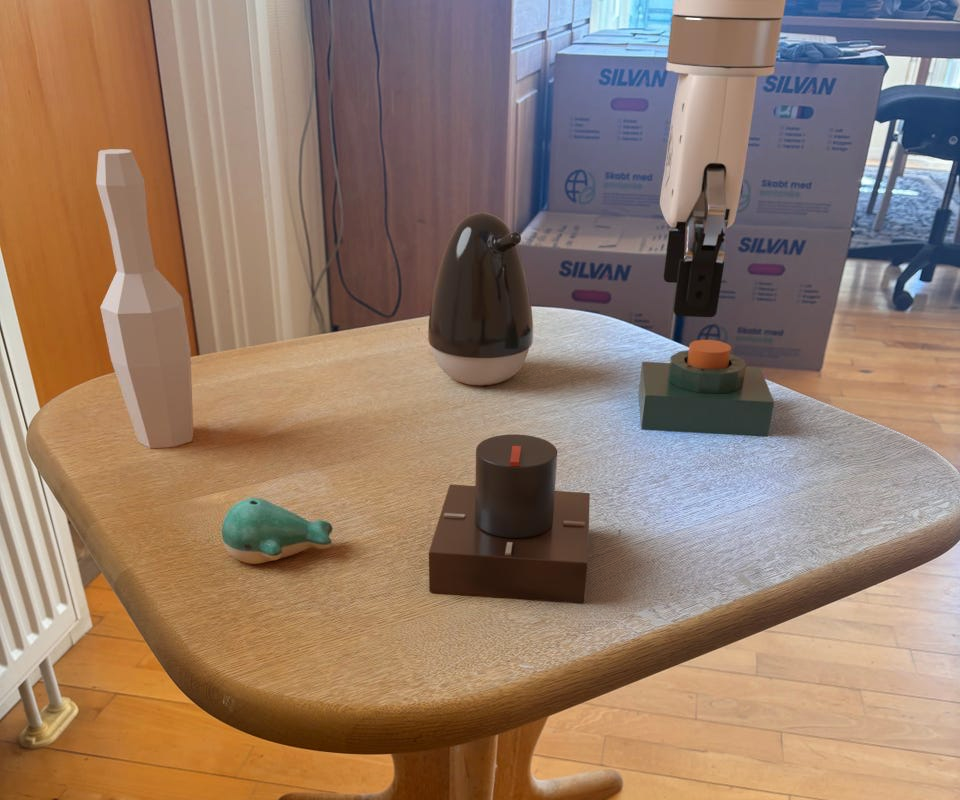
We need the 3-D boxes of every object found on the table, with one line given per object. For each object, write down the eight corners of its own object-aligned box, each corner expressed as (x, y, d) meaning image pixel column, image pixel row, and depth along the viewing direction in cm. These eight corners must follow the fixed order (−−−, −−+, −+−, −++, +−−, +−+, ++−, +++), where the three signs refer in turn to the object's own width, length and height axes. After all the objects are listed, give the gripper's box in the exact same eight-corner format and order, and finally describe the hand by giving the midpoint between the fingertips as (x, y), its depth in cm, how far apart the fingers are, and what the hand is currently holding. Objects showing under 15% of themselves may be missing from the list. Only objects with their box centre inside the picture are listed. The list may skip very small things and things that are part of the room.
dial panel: (586, 530, 70) (590, 490, 68) (584, 603, 62) (588, 560, 60) (449, 521, 71) (449, 481, 69) (429, 592, 63) (428, 549, 61)
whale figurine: (232, 531, 69) (225, 483, 67) (336, 530, 69) (332, 482, 67) (218, 573, 64) (210, 522, 62) (330, 572, 65) (325, 521, 62)
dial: (478, 500, 67) (479, 427, 64) (553, 504, 67) (558, 431, 64) (471, 536, 63) (472, 460, 60) (551, 540, 62) (556, 464, 59)
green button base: (754, 400, 92) (764, 348, 89) (767, 437, 85) (778, 381, 82) (638, 394, 93) (644, 342, 90) (641, 430, 86) (647, 374, 83)
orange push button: (725, 359, 88) (728, 340, 87) (730, 373, 85) (733, 353, 84) (685, 357, 88) (688, 338, 87) (688, 371, 85) (691, 351, 84)
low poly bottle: (136, 457, 79) (76, 160, 67) (120, 430, 84) (61, 147, 71) (213, 443, 82) (169, 155, 69) (193, 418, 86) (149, 143, 74)
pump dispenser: (469, 403, 90) (471, 230, 82) (409, 371, 97) (404, 209, 89) (553, 382, 95) (563, 217, 87) (490, 353, 102) (493, 197, 94)
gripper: (659, 40, 75) (635, 269, 85) (679, 55, 61) (647, 328, 71) (757, 43, 75) (721, 272, 85) (800, 58, 61) (751, 332, 70)
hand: (687, 297), depth 78 cm, fingers open, 9 cm apart
